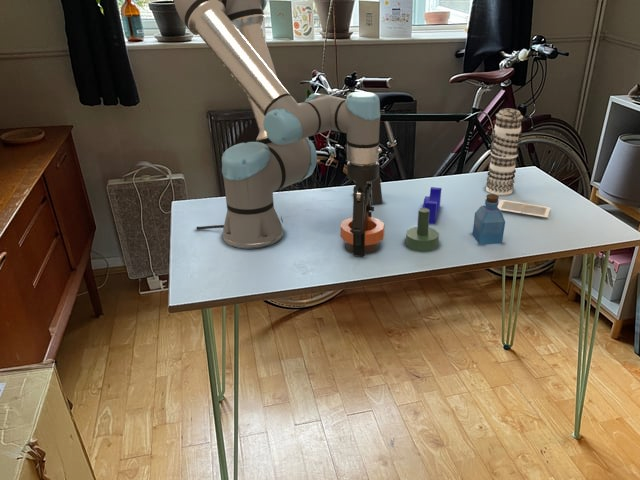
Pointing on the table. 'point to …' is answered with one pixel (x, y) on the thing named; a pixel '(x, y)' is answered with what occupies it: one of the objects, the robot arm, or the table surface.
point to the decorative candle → (504, 151)
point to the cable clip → (433, 203)
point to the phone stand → (376, 190)
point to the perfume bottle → (489, 222)
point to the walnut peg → (368, 247)
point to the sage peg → (422, 234)
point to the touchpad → (524, 208)
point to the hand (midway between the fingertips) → (362, 244)
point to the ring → (371, 236)
